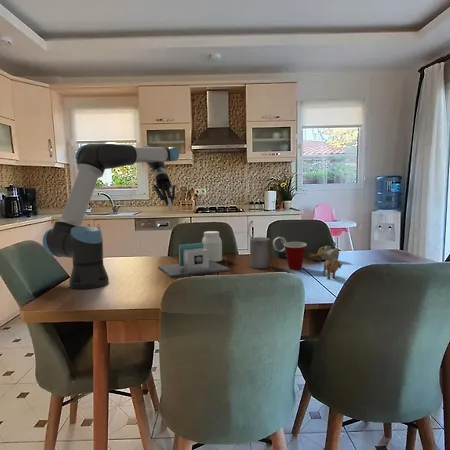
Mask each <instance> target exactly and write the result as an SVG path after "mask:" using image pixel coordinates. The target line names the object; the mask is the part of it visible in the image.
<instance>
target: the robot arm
mask: <svg viewBox="0 0 450 450" xmlns="http://www.w3.org/2000/svg"><path fill="white" fill-rule="evenodd" d="M74 157H75V163H76V169H77V170H78V173H77V175H76V178H75V179H74V180H75V181H74V182H73V186H72V188H71V190H70V192H69V193H70V194H69V197H68V199H67V202H66V204H65V207H64V209H63V212H62V215H61V217H60V219H58V220H56V221H54V225H53V227H52V228H50V229H48V230H46V231H45V232H44V235H43V236H42V246H43V247H44V251H45V252H46V253H47V254H49V255H51V256H53V257H57V258H71V259H72V270H71V273H70V276H69V281H68V285H69V286H68V287H69V288H71V289H74V290H91V289H96V288H101V287H104V286H106V285H108V284H109V283H110V281H109V280H110V279H109V275H108V272H107V270H106V268H105V264H104V248H103V247H104V245H103V242H104V241H103V233H102V230H101V229H100V228H97V227H94V226H83V225H82V224H83V221H84V218H85V216H86V212H87V210H88V207H89V204H90V201H91V199H92V197H93V193H94V190H95V188H96V185H97V183H98V179H100V178H103V175H104V173H105V170H110V169H116V168H117V169H118V168H121V167H125V166H127V167H128V166H133V165H134V164H139V163H142V164H143V163H145V164H147V165H148V167H150V168H151V170H152V173H153V176H154V181H155V184H153V187H152V189H153V191H154V192H155V193H156V194H157V196H158V198H159V199H160V201H163V202H164V203H165V205H166V206H167V207H168V211H173V204H174V201H175V197H176V187H177V185H176V184H174V185H173V184H172V183H171V181H170V177H169V174H168V171H167V168H166V165H165V162H168V163H170V162H176V161H178V160H179V159H180V158H179V157H180V151H179V149H178V148H177V147H175V146H170V147H169V146H167V147H164V146H163V147H162V146H150V145H149V144H144V145H142V146H133V145H132V144H129V143H128V144H126V143H119V142H118V143H117V142H109V141H108V142H99V143H98V142H97V143H87V144H83V145H81V146H79V148H78V149H77V151H76V153H75V156H74ZM170 189H171V190H170Z"/></svg>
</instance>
